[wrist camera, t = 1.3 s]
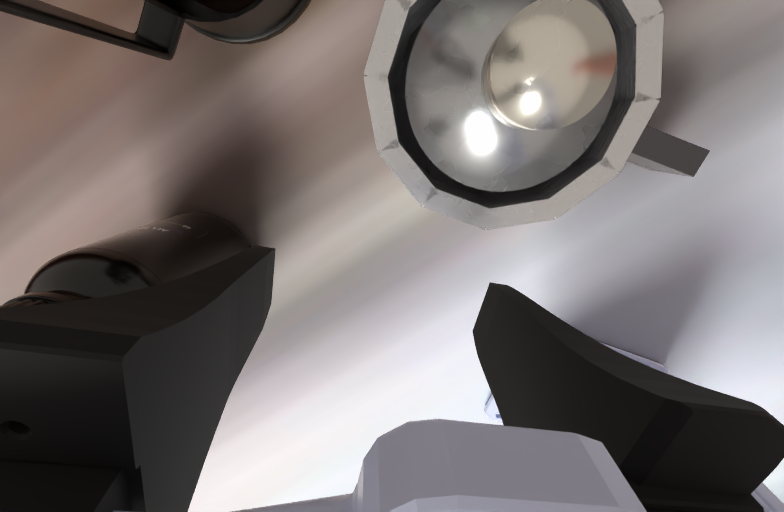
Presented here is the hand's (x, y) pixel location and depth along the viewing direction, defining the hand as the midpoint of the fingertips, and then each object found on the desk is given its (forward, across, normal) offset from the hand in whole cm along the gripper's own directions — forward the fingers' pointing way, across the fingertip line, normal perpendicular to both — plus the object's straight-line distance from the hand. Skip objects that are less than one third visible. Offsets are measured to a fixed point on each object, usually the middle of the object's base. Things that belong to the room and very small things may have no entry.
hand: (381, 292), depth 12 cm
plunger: (+8, -4, -7) cm, 11 cm away
